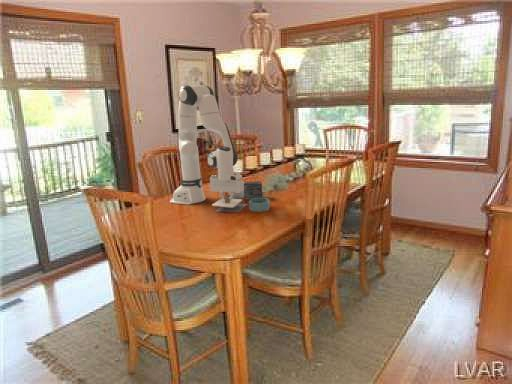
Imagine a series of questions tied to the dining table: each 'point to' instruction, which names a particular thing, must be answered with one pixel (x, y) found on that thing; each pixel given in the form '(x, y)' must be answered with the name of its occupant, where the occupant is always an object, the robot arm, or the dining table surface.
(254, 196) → the small box
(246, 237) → the dining table surface
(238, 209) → the mat
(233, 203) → the cover sheet
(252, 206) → the bowl
